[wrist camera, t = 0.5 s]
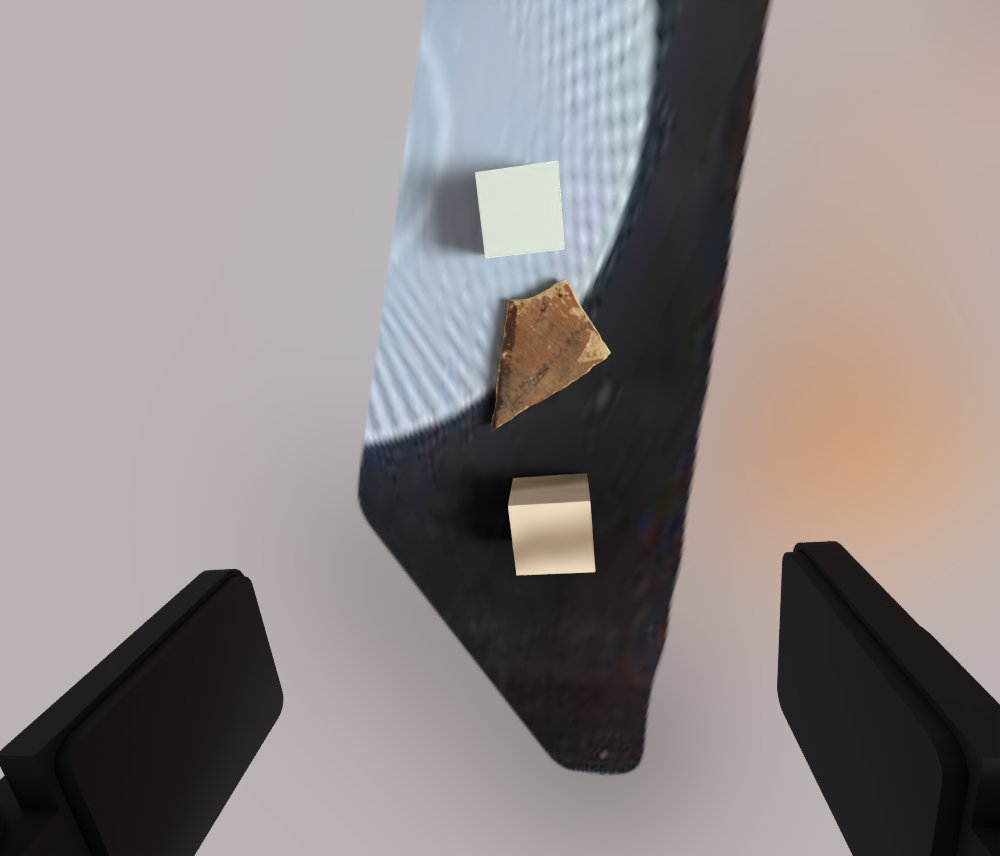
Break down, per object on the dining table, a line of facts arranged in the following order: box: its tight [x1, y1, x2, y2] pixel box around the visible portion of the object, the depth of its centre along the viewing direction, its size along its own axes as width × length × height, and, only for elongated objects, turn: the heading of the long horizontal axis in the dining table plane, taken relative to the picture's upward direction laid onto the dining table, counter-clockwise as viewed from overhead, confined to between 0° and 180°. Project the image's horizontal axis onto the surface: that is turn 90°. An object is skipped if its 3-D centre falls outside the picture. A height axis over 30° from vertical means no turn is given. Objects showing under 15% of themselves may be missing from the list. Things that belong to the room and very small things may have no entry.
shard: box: [491, 280, 611, 431], centre depth 41 cm, size 11×8×2 cm
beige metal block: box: [508, 473, 595, 575], centre depth 43 cm, size 6×6×5 cm
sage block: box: [475, 161, 565, 259], centre depth 36 cm, size 5×5×5 cm
